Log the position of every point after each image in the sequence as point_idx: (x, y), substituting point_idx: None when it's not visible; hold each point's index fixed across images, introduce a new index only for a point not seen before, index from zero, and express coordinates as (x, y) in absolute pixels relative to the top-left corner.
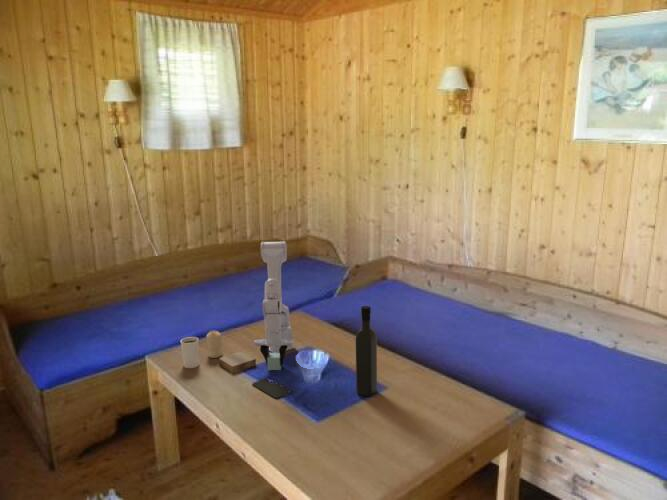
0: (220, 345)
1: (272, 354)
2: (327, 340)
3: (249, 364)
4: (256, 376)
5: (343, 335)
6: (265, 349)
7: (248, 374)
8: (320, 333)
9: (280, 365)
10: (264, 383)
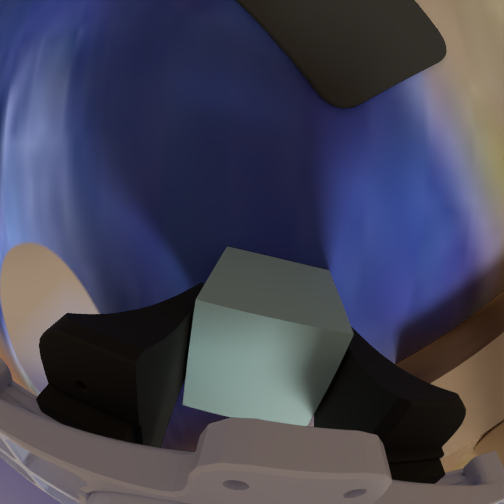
0: None
1: (280, 399)
2: None
3: (445, 350)
4: (424, 178)
5: None
6: (404, 419)
7: (467, 230)
8: None
9: None
10: (360, 18)
